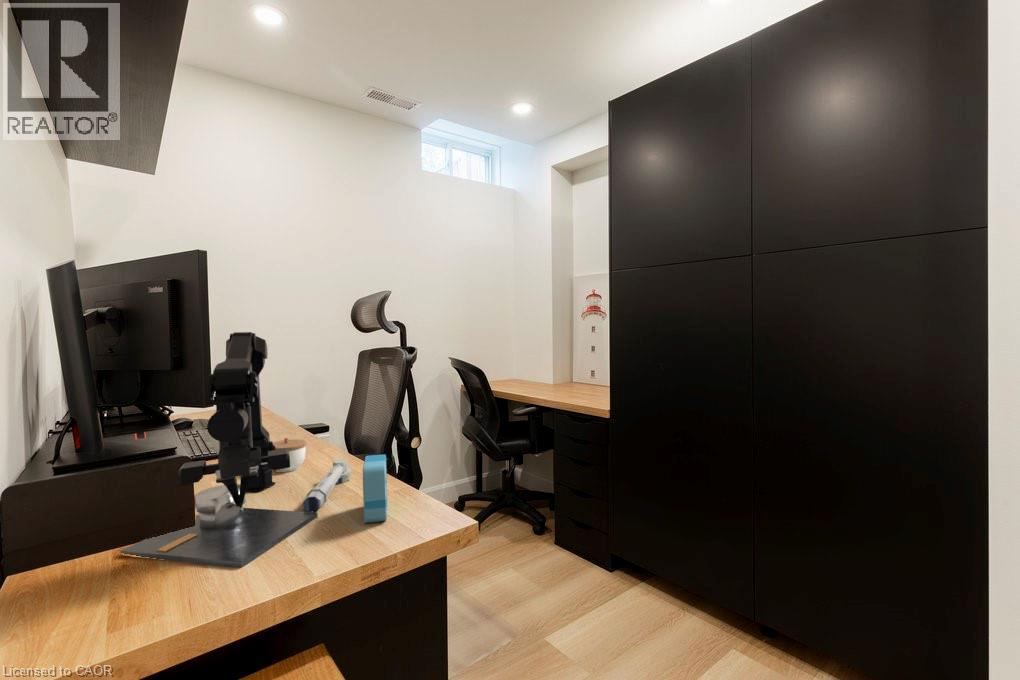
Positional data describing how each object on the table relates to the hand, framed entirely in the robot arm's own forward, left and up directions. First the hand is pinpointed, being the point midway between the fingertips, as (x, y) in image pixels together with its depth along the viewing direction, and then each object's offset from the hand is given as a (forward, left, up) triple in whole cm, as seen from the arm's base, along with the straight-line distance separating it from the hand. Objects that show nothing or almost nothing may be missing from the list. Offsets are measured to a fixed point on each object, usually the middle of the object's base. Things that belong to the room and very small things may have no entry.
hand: (239, 508), depth 93 cm
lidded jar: (-22, +43, -6) cm, 49 cm away
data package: (+21, +16, -6) cm, 27 cm away
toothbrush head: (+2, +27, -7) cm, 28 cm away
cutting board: (-4, +1, -6) cm, 7 cm away
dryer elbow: (-6, +2, -3) cm, 7 cm away
